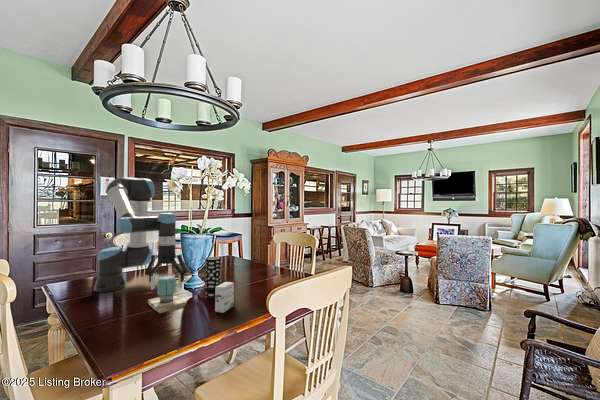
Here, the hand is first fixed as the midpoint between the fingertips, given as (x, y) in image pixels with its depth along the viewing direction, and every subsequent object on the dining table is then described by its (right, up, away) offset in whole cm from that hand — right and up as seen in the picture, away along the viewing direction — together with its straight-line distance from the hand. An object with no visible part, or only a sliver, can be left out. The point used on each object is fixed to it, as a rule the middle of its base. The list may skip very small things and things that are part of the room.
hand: (166, 288), depth 135 cm
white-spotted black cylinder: (+18, -9, +14) cm, 25 cm away
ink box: (+30, -9, -4) cm, 31 cm away
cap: (0, -2, 0) cm, 2 cm away
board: (0, -8, 0) cm, 8 cm away
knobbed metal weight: (0, -6, 0) cm, 6 cm away
